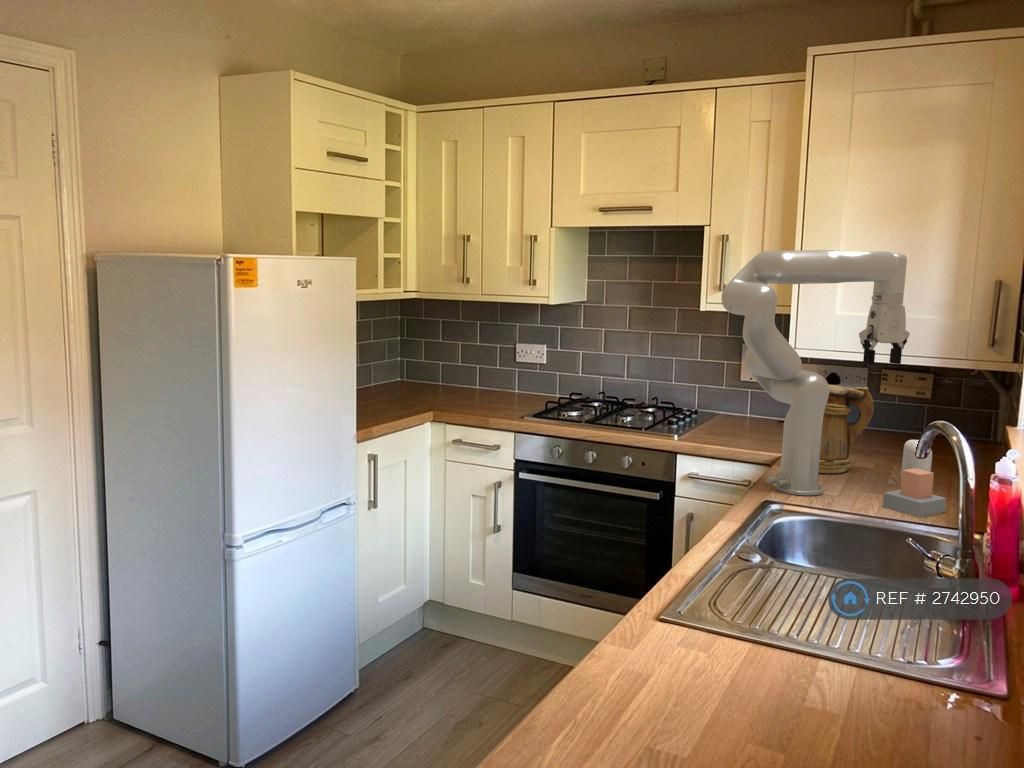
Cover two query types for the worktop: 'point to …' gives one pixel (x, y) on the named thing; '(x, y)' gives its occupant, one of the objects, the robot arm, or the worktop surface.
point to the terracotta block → (917, 483)
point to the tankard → (842, 426)
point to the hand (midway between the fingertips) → (881, 363)
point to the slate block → (914, 504)
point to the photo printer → (914, 458)
